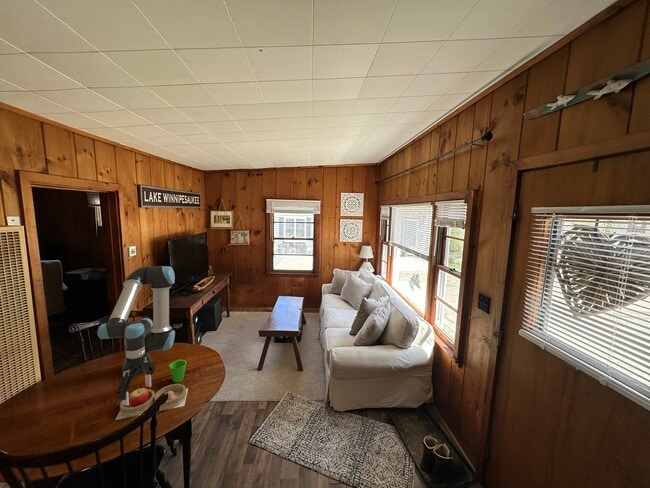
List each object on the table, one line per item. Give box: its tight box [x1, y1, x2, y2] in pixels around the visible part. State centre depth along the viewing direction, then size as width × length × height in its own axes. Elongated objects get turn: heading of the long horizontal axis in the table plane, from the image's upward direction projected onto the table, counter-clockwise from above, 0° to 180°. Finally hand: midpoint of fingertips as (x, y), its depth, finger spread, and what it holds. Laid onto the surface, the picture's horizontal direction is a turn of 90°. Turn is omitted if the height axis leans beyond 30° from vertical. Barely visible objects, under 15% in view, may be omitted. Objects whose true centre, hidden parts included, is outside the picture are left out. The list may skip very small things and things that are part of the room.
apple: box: [128, 385, 149, 407], centre depth 131 cm, size 8×8×10 cm
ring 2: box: [154, 383, 187, 411], centre depth 135 cm, size 14×14×4 cm
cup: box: [168, 359, 188, 384], centre depth 152 cm, size 9×9×11 cm
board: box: [114, 388, 189, 421], centre depth 133 cm, size 29×14×1 cm, turn 111°
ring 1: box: [119, 388, 156, 418], centre depth 130 cm, size 14×14×4 cm
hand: (137, 395), depth 130 cm, fingers open, 13 cm apart
